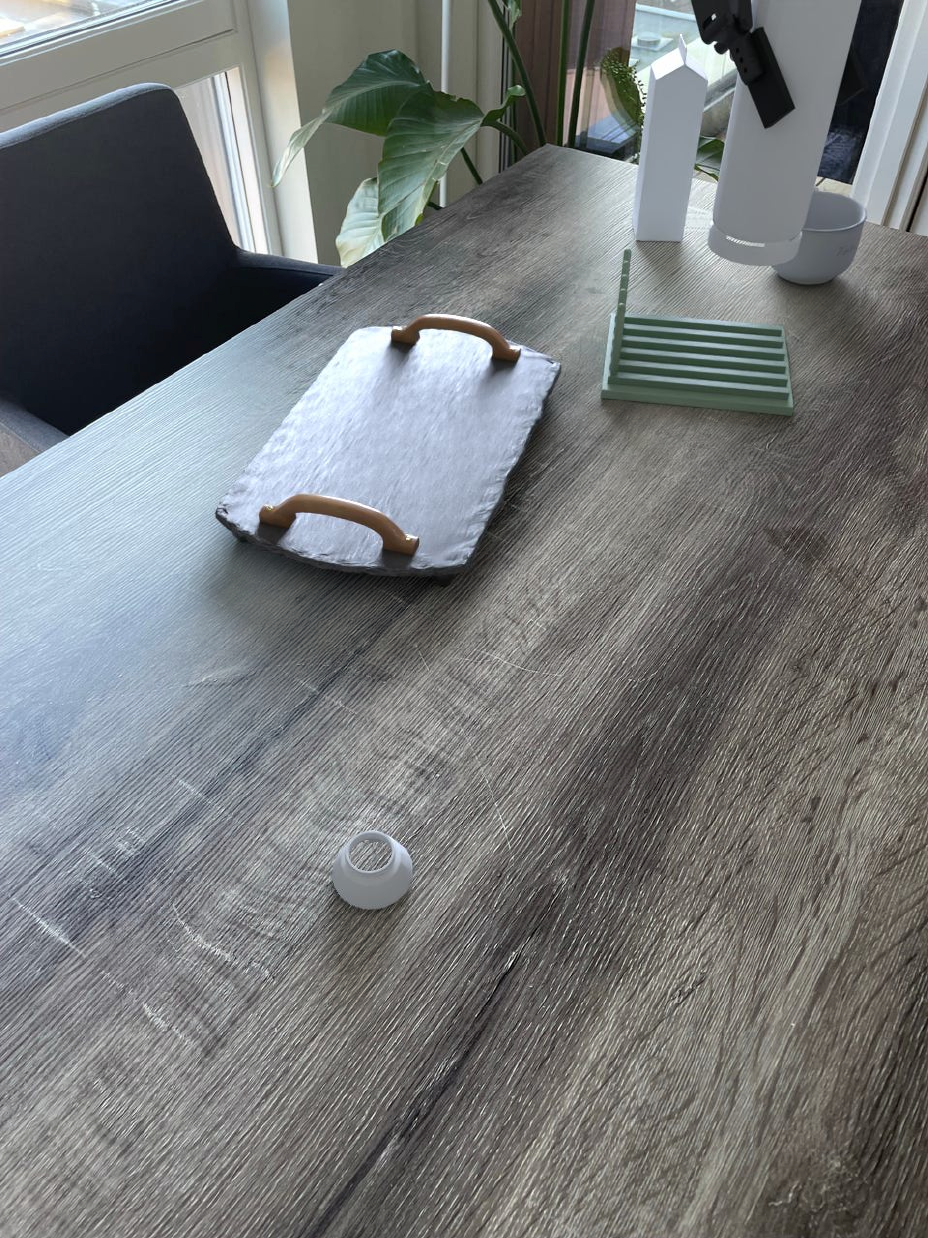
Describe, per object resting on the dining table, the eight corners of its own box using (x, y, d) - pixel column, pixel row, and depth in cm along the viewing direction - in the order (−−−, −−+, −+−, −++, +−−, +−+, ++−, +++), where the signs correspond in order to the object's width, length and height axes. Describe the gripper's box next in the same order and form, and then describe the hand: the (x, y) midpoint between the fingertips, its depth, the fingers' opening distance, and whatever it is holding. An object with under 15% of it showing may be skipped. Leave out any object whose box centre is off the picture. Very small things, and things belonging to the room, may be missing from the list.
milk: (676, 222, 131) (707, 33, 115) (682, 242, 127) (715, 49, 111) (630, 220, 131) (654, 32, 115) (634, 241, 127) (660, 48, 111)
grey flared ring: (411, 840, 65) (334, 844, 65) (409, 814, 63) (330, 819, 63) (414, 910, 62) (332, 915, 61) (412, 885, 59) (328, 891, 59)
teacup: (845, 300, 116) (865, 233, 110) (750, 285, 118) (765, 219, 113) (852, 249, 125) (871, 185, 120) (765, 236, 128) (779, 173, 122)
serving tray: (367, 336, 110) (363, 283, 105) (572, 371, 105) (577, 317, 101) (196, 560, 84) (182, 502, 80) (458, 621, 79) (458, 563, 75)
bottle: (732, 271, 87) (815, -126, 67) (691, 231, 92) (756, -146, 72) (815, 259, 89) (919, -132, 69) (769, 221, 94) (854, -151, 74)
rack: (782, 335, 110) (803, 253, 104) (791, 416, 99) (815, 330, 93) (610, 320, 113) (619, 239, 106) (600, 398, 101) (610, 313, 95)
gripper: (764, -150, 85) (864, 106, 87) (578, -124, 76) (694, 160, 79) (831, -225, 78) (937, 54, 80) (634, -206, 69) (759, 108, 72)
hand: (817, 106), depth 80 cm, fingers closed on bottle, 8 cm apart
